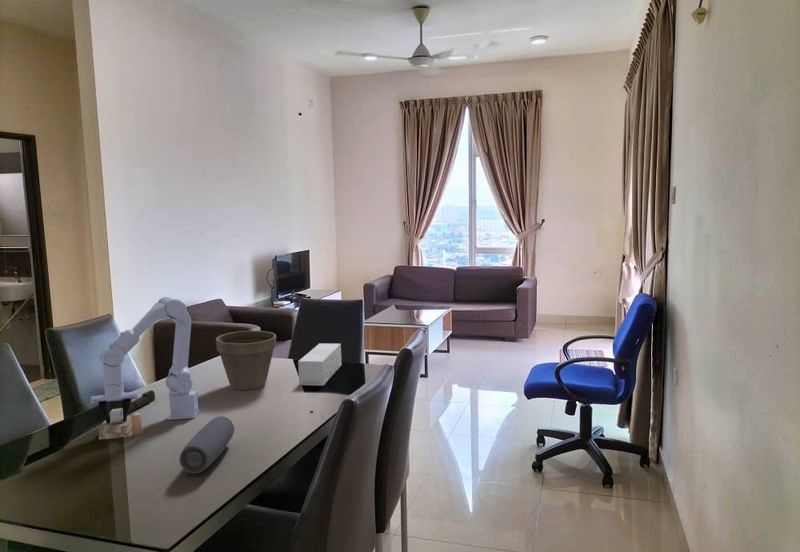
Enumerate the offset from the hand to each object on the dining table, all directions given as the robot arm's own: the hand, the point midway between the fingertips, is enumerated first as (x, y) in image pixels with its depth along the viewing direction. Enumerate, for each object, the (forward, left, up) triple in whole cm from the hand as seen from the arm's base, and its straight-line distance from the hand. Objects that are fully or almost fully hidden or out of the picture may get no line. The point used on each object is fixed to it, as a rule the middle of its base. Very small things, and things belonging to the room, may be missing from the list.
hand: (117, 421), depth 190 cm
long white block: (-70, -54, -5) cm, 89 cm away
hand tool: (+1, -26, -5) cm, 26 cm away
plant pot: (-39, -44, -4) cm, 59 cm away
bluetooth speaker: (-35, +28, -4) cm, 45 cm away
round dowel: (-7, +2, -4) cm, 9 cm away
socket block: (0, 0, -4) cm, 4 cm away
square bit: (0, 0, -4) cm, 4 cm away
